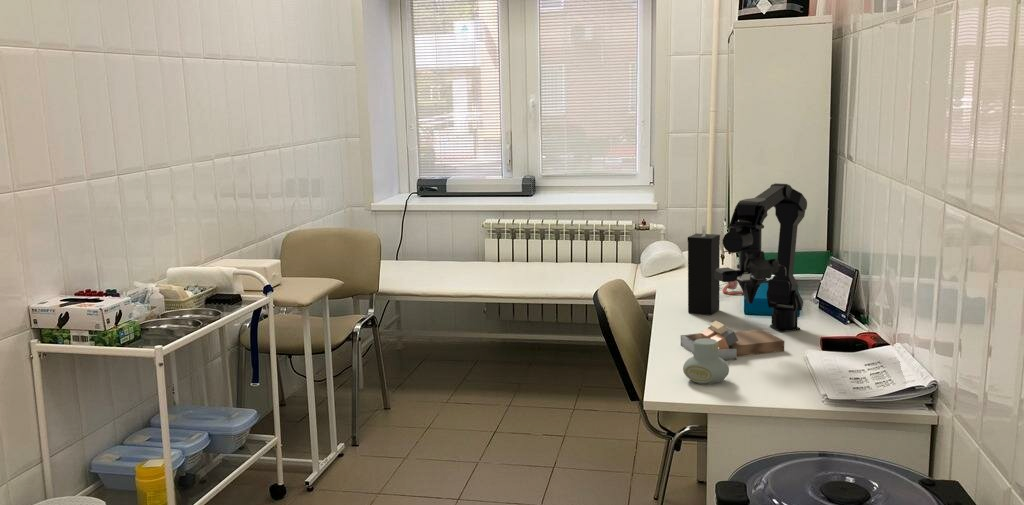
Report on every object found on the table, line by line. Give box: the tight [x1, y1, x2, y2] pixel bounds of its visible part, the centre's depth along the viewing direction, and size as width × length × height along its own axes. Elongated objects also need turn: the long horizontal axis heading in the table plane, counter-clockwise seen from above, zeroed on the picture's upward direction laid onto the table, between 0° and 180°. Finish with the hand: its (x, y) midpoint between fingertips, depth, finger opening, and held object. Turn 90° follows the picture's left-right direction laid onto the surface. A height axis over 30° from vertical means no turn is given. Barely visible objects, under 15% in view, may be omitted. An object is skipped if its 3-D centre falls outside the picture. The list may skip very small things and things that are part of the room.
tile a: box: [700, 328, 716, 339], centre depth 234 cm, size 4×4×2 cm
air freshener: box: [682, 338, 730, 386], centre depth 208 cm, size 11×8×10 cm
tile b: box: [710, 334, 729, 350], centre depth 229 cm, size 4×4×2 cm
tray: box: [680, 332, 738, 362], centre depth 231 cm, size 8×17×3 cm, turn 13°
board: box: [729, 328, 785, 357], centre depth 234 cm, size 15×12×3 cm
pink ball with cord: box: [719, 280, 744, 296], centre depth 296 cm, size 20×9×25 cm
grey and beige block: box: [707, 320, 739, 346], centre depth 231 cm, size 3×10×5 cm, turn 13°
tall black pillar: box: [687, 225, 721, 316], centre depth 272 cm, size 8×8×28 cm
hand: (750, 303), depth 233 cm, fingers closed
